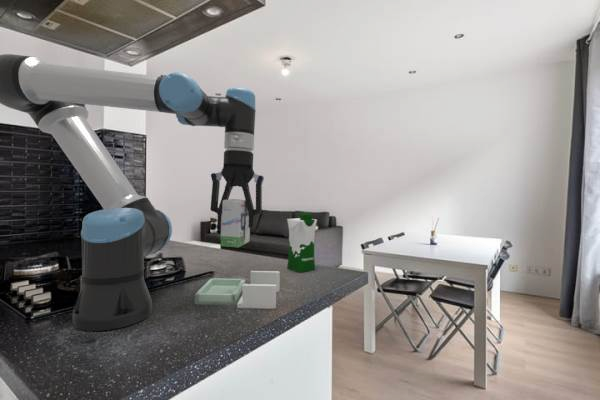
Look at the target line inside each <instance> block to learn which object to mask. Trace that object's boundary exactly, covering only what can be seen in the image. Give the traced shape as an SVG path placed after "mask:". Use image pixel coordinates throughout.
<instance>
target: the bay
mask: <svg viewBox="0 0 600 400" xmlns="http://www.w3.org/2000/svg"><path fill="white" fill-rule="evenodd" d="M280 273H281V272H280V271H278V270H276V271H274V270H273V271H272V270H271V271H269V270H250V283H245V284H243V285H242V294H241V296H240V298H239V300H238V302H237V303H236V305H237V307H236V308H237V309H261V310H262V309H266V310H268V309H269V310H270V309H272V310H275V309H277V293H280V282H281V281H280V279H281V277H280V276H281V275H280Z"/></svg>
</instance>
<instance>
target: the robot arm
mask: <svg viewBox="0 0 600 400" xmlns="http://www.w3.org/2000/svg"><path fill="white" fill-rule="evenodd" d="M0 104H1V105H2V106H5V107H6V108H9V109H12V110H16V111H19V112H22V113H26V114H28V115H29V117H30V118H31V119H32V120H33V122H34V124H35V125H36V126H37V128H38V129H39V130H40V131H41V132H42V133H46V134H49V135H51V136H52V137H53V138H54V140H55V141H56V143H57V144H58V146H59V148H60V149H61V150H62V151H63V153H64V154H65V156H66V157H67V158H68V160H69V161H70V162H71V164H72V166H73V167H74V169H75V170H76V171H77V172H78V174H79V176H80V177H81V179H82V180H83V182H84V183H85V185H87V187H88V188H89V190H90V191H91V193H92V194H93V196H94V197H95V198H96V201H98V203H99V204H100V205H101V207H102V209H99V210H96V211H95V210H94V211H92V212H89V213H87V214H86V215H85V216H84V217H83V219H82V223H81V224H82V225H81V227H82V228H81V230H80V237H81V274H82V276H81V278H82V282H81V283H82V286H81V289H80V291H79V294H78V296H77V299H76V302H75V305H74V308H73V310H72V321H71V322H72V326H73V327H74V328H75V329H78V330H81V331H88V332H95V331H96V332H98V331H99V332H100V331H110V330H117V329H121V328H124V327H129V326H132V325H134V324H137V323H140V322H142V321H144V320H146V319H147V318H148V317H150V316H151V314H152V313H153V300H152V297H151V294H150V292H149V289H148V287H147V284H146V281H145V277H144V275H145V273H144V270H145V266H144V265H145V258H146V257H148V256H149V255H154V254H156V253H157V252H159V251H161V250H162V249H163V248H164V247H165V246H167V244H168V243H169V242H170V240H171V237H172V233H173V228H172V222H171V219H170V218H169V217H168V216H167V214H166V213H165V212H163V211H161V210H159V209H156V207H155V206H154V205H153V203H152V202H151V201H150V200H149V198H148V197H147V196H143V195H141V194H140V195H139V194H138V193H137V191H136V190H135V188H134V187H133V185H132V184H131V182H130V181H129V180H128V178H127V177H126V176H125V174H124V172H123V171H122V170H121V168H120V167H119V165H118V164H117V162H116V161H115V160H114V158H113V157H112V155H111V154H110V152H109V150H108V149H107V147H106V146H105V145H104V144H103V142H102V140H101V139H100V137H99V136H98V135H97V133H96V131H95V130H94V129H93V127H92V126H91V124H90V123H89V122H88V120H87V119H88V117H89V111H88V109H87V107H86V105H88V106H89V105H90V106H99V107H108V108H109V107H110V108H119V109H129V110H130V109H131V110H139V111H145V112H147V111H148V112H155V113H157V112H158V113H165V114H173V115H174V114H175V117H176V118H177V121H178V122H179V123H180V125H184V126H191V127H197V126H198V127H219V128H224V142H223V143H224V145H223V147H224V149H225V151H223V164H222V165H223V167H222V169H221V171H220V172H219V171H218V172H216V173H215V172H212V173H211V174H210V177H211V181H212V185H211V186H212V187H211V197H210V199H211V200H210V211H211V212H214V213H216V214H217V221H216V223H217V224H216V225H217V227H220V228H221V227H222V203H223V200H228V199H230V195H231V193H232V190H233V188H234V187H240V188H241V189H242V192H243V195H244V200H246V205H247V209H248V213H249V214H248V215H247V216H246V223H245V241H248V240H249V241H250V239H249V238H250V237H251V236H250V235H251V229H253V228H254V227H255V216H256V215H258V214H260V213H262V211H263V207H262V206H263V204H262V203H263V201H262V199H263V197H262V196H263V194H262V190H263V189H262V188H263V187H262V185H263V183H264V180H265V177H264V175H259V174H258V173H255V171H254V152H252V151H254V149H255V127H256V126H255V123H256V110H257V109H256V95H255V93H254V92H253V91H252V90H250V89H248V88H243V87H230V88H228V89H227V90H226V93H225V96H210V95H207V94H206V92H204V91H203V89H202V88H201V86H199V84H198V82H196V80H194V79H193V78H191V77H190V76H188V75H187V74H185V73H183V72H178V71H177V72H172V73H169V74H167V75H165V76H157V75H152V74H151V75H149V74H142V73H132V72H125V71H123V72H122V71H116V70H115V71H114V70H107V69H106V70H105V69H99V68H98V69H96V68H89V67H80V66H71V65H61V64H56V63H55V64H53V63H47V62H45V60H43V59H42V58H40V57H36V56H30V55H21V54H20V55H19V54H10V53H8V54H6V53H5V54H0ZM222 177H223V178H224V180H225V182H226V183H225V186H224V190H223V193H222V196H221V200H220V202H219V199H220V196H219V195H220V185H221V184H220V182H221V181H222ZM253 179H254V183H255V207H254V204H253V199H252V196H251V195H252V194H251V191H250V187H249V184H250V181H252V180H253ZM219 239H220V241H221V238H219Z"/></svg>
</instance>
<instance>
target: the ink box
mask: <svg viewBox="0 0 600 400" xmlns="http://www.w3.org/2000/svg"><path fill="white" fill-rule="evenodd" d="M248 214H249V213H248V209H247V205H246V200H245V199H237V198H233V199H232V198H231V199H230V198H229V199H228V200H223V203H222V227H221V226H220V239H221V240H220V247H226V248H227V247H228V248H240V247H242V246H244V245H245V244H248V243H249V242H250V238H249V240H248V241H245V223H246V216H247V215H248Z"/></svg>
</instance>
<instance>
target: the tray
mask: <svg viewBox="0 0 600 400" xmlns="http://www.w3.org/2000/svg"><path fill="white" fill-rule="evenodd" d="M243 284H246V278H220V277H219V278H214V277H213V278H212V277H211V278H210V279H209V280H208V281H206V282H205V284H204V285H203V286H201V287H200V289H198V290H197V292H195V293H194V305H197V306H198V305H203V306H236V305H237V303H238V302H239V300H240V298H241V296H242V285H243Z"/></svg>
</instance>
